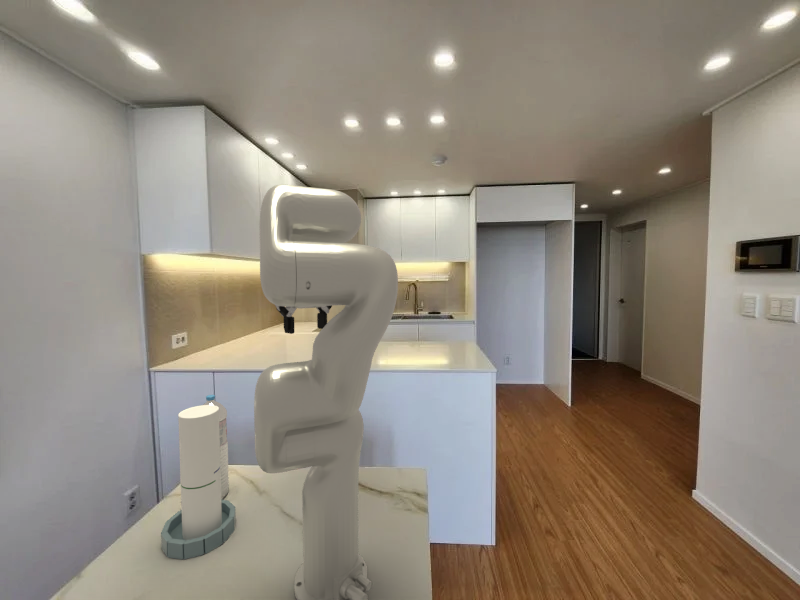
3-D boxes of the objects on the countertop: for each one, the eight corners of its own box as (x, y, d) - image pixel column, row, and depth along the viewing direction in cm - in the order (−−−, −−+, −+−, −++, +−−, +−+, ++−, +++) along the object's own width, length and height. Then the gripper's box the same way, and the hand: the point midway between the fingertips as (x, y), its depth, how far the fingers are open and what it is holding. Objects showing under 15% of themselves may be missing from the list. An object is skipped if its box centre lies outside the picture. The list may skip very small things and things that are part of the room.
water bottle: (200, 490, 85) (197, 393, 84) (230, 484, 87) (228, 389, 86) (194, 507, 79) (191, 402, 77) (227, 501, 81) (224, 398, 80)
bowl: (246, 530, 72) (246, 516, 71) (176, 570, 62) (175, 555, 61) (219, 504, 80) (219, 492, 80) (153, 536, 70) (153, 522, 70)
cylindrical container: (228, 517, 74) (226, 405, 73) (207, 542, 67) (203, 419, 65) (198, 515, 75) (194, 404, 73) (173, 540, 67) (169, 417, 66)
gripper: (282, 259, 74) (284, 336, 75) (342, 263, 88) (342, 328, 89) (264, 260, 79) (266, 333, 80) (324, 263, 93) (324, 326, 94)
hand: (306, 330), depth 84 cm, fingers open, 9 cm apart
